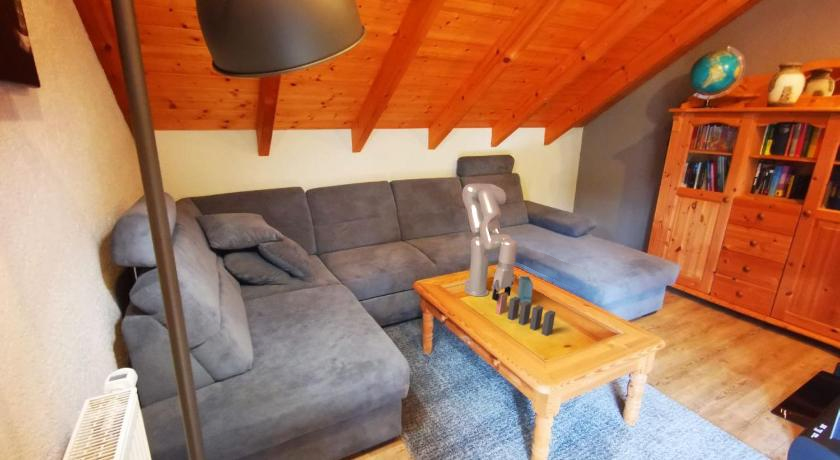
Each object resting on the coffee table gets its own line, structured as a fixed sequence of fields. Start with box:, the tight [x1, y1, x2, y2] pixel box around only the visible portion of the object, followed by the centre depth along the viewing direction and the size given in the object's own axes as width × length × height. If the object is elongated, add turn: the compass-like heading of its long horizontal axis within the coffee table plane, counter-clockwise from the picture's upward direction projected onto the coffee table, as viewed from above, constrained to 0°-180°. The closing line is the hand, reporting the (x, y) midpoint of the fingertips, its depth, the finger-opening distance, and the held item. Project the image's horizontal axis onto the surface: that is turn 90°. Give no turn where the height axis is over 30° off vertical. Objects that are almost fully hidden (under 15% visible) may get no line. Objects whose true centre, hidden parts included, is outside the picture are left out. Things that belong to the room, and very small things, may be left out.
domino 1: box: [495, 291, 509, 316], centre depth 194 cm, size 2×5×10 cm, turn 134°
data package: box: [517, 275, 534, 304], centre depth 210 cm, size 12×4×12 cm, turn 177°
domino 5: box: [541, 309, 556, 337], centre depth 177 cm, size 2×5×10 cm, turn 133°
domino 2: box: [507, 296, 521, 321], centre depth 189 cm, size 2×5×10 cm, turn 133°
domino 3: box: [517, 301, 532, 326], centre depth 185 cm, size 2×5×10 cm, turn 133°
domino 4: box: [529, 305, 544, 331], centre depth 181 cm, size 2×5×10 cm, turn 133°
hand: (501, 297), depth 195 cm, fingers open, 9 cm apart
